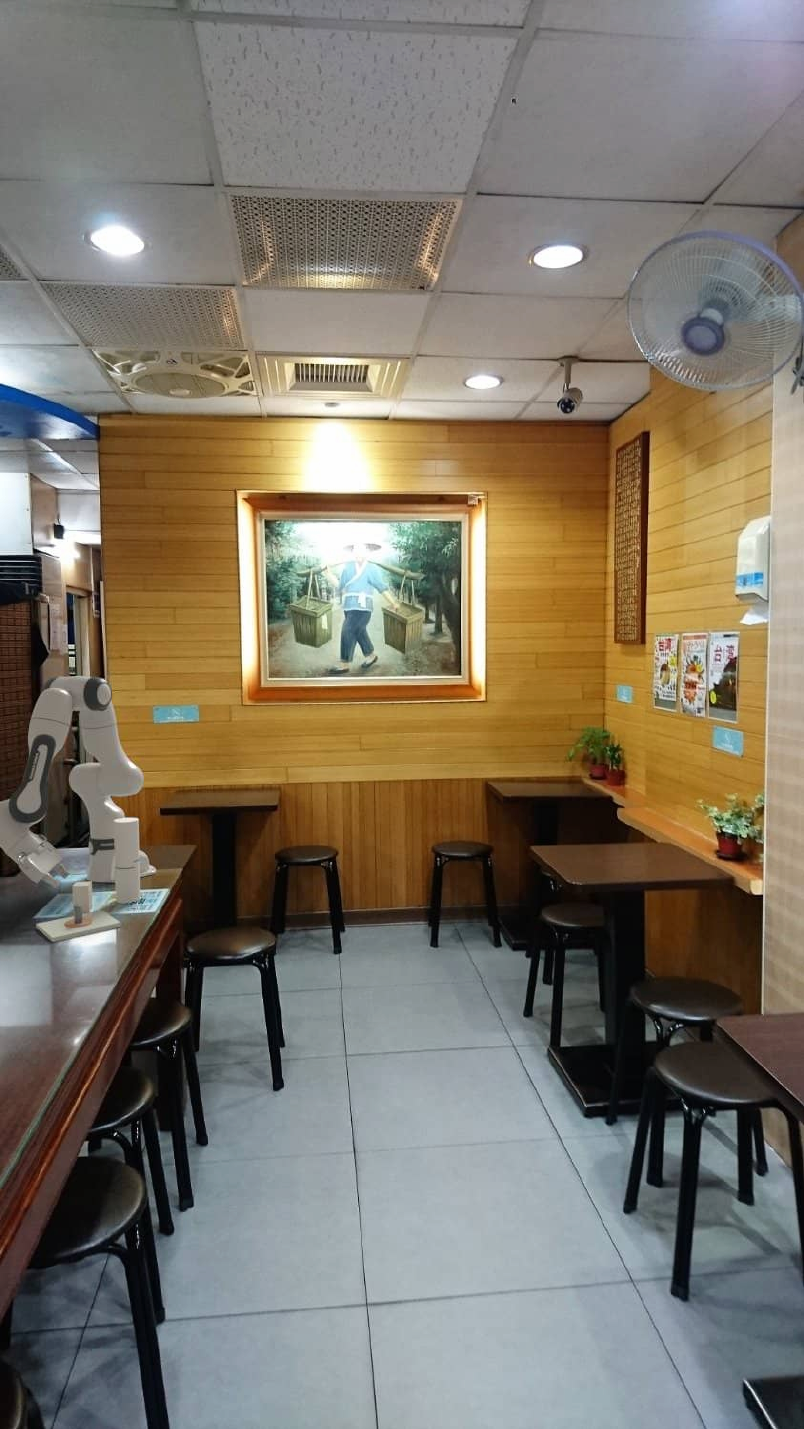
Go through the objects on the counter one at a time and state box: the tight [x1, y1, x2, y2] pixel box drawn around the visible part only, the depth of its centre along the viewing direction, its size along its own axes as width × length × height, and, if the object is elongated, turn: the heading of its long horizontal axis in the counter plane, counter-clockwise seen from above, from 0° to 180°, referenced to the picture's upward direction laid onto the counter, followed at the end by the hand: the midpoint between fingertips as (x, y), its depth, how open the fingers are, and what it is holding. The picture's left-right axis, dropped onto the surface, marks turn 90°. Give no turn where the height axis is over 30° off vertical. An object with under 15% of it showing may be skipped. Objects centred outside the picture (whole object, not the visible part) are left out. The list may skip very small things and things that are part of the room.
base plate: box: [35, 904, 122, 943], centre depth 215 cm, size 18×14×6 cm
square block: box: [71, 881, 93, 914], centre depth 229 cm, size 4×4×8 cm
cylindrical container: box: [114, 817, 141, 904], centre depth 238 cm, size 7×7×25 cm
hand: (63, 880), depth 228 cm, fingers open, 8 cm apart
